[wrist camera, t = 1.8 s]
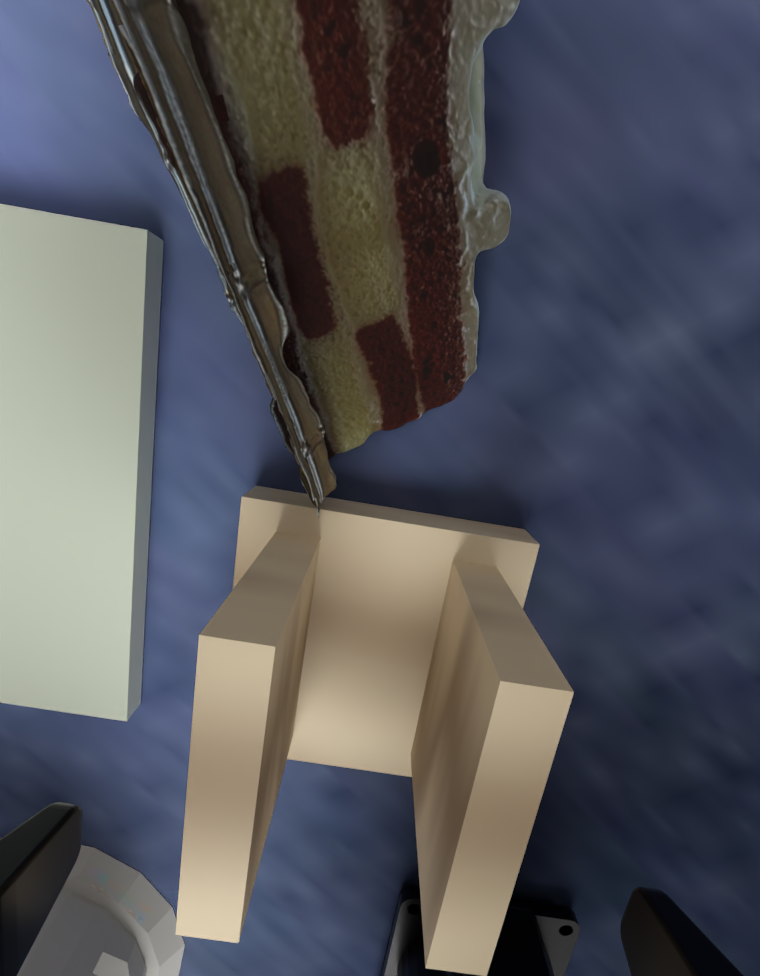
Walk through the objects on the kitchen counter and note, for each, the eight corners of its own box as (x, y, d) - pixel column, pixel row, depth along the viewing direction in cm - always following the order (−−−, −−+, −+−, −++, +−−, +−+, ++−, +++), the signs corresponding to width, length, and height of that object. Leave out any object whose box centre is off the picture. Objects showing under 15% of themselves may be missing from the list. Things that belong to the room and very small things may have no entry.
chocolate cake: (542, 442, 13) (969, -673, 3) (323, 543, 12) (-232, -890, 2) (394, 283, 18) (370, -341, 8) (228, 341, 17) (-56, -325, 7)
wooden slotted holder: (467, 747, 15) (527, 1012, 9) (234, 713, 15) (121, 957, 8) (522, 526, 13) (649, 657, 7) (257, 484, 13) (136, 578, 7)
